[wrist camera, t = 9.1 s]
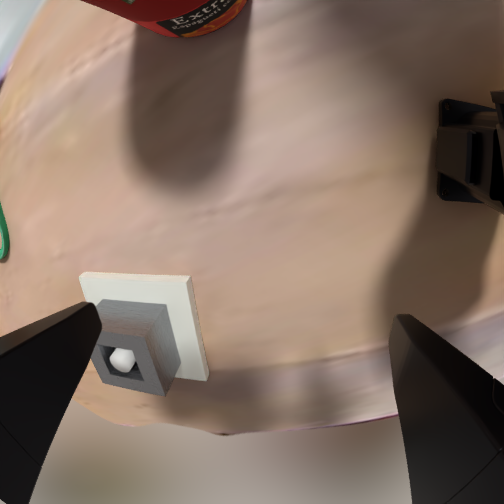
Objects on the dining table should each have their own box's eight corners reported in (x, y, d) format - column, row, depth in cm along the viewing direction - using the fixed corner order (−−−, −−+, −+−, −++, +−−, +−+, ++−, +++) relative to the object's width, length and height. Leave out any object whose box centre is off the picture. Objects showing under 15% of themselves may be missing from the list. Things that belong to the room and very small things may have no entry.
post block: (190, 275, 22) (164, 315, 18) (209, 373, 26) (194, 415, 22) (84, 271, 24) (50, 301, 19) (116, 359, 28) (93, 393, 23)
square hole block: (166, 304, 22) (144, 337, 19) (181, 362, 25) (165, 396, 21) (102, 298, 23) (76, 326, 20) (122, 353, 26) (102, 382, 22)
